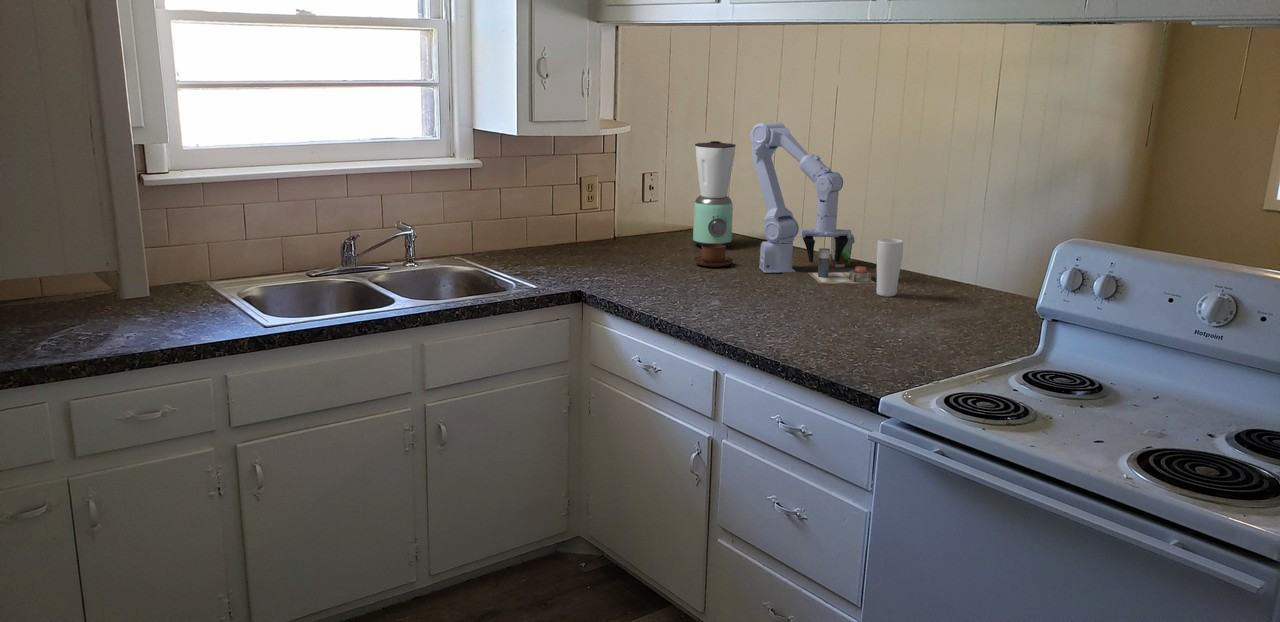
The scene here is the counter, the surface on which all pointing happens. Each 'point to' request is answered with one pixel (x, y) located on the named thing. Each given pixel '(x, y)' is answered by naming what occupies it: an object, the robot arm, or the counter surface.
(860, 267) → the button
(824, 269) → the cylinder
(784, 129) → the robot arm
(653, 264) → the counter surface
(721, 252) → the cup and saucer
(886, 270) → the drinking glass
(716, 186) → the mint green blender
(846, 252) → the food container
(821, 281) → the control panel
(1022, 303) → the counter surface
